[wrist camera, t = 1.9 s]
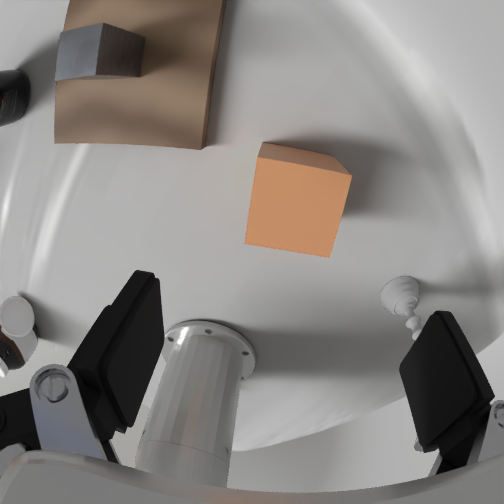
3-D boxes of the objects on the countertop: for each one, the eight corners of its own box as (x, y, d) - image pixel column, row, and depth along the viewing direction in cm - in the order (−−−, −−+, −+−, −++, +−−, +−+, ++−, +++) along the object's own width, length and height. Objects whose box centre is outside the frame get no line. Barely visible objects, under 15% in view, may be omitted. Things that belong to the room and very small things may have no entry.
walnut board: (205, 147, 24) (200, 149, 23) (63, 140, 24) (54, 143, 23) (230, -18, 16) (227, -24, 15) (78, 1, 16) (70, -1, 15)
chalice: (365, 318, 32) (401, 458, 17) (376, 269, 29) (436, 420, 13) (418, 314, 32) (469, 438, 16) (433, 268, 28) (509, 396, 13)
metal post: (140, 77, 20) (95, 75, 14) (103, 79, 20) (54, 80, 14) (145, 37, 18) (103, 22, 12) (108, 41, 18) (60, 32, 12)
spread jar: (14, 327, 42) (-16, 366, 32) (-5, 282, 36) (-42, 321, 26) (54, 346, 42) (25, 392, 32) (36, 298, 36) (-4, 346, 26)
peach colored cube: (317, 219, 27) (329, 257, 21) (252, 208, 27) (244, 243, 21) (332, 155, 24) (352, 175, 18) (262, 142, 24) (257, 157, 18)
